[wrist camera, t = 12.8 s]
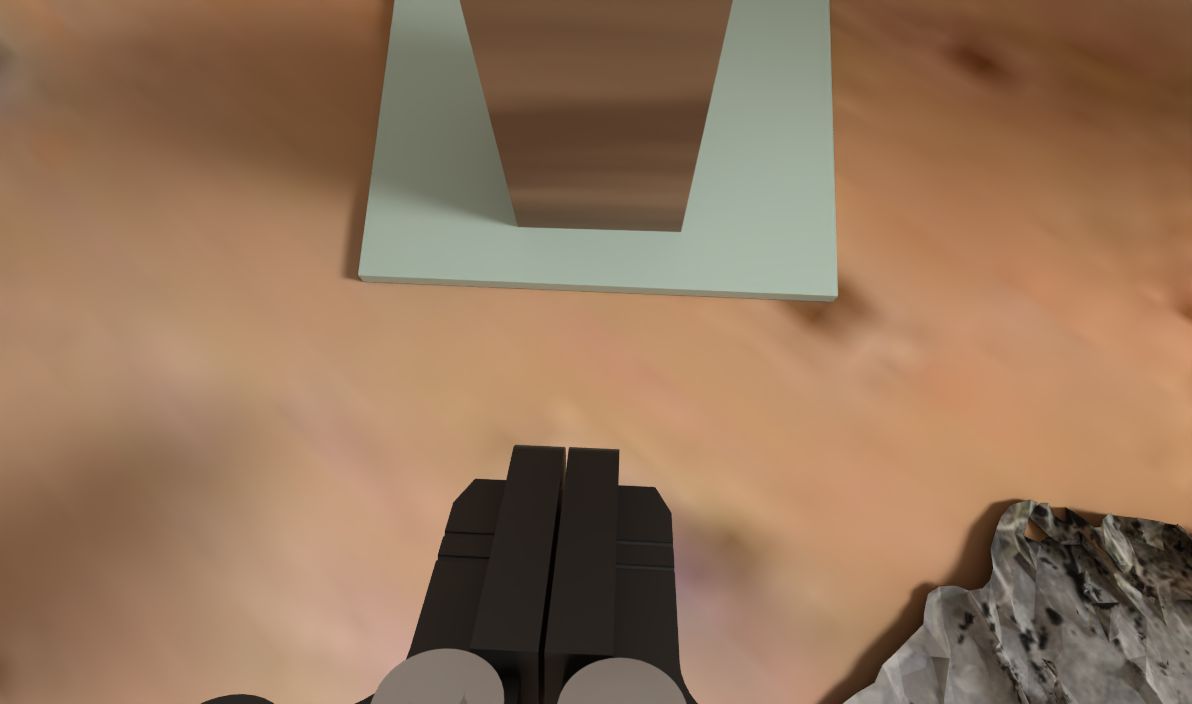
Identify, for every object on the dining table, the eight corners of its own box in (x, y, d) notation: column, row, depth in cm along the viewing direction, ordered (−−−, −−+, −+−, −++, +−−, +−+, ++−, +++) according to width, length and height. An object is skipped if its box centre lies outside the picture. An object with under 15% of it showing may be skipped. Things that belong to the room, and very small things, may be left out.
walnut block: (681, 231, 22) (778, -202, 10) (517, 227, 22) (405, -209, 10) (682, 87, 23) (770, -466, 11) (527, 83, 24) (438, -470, 11)
